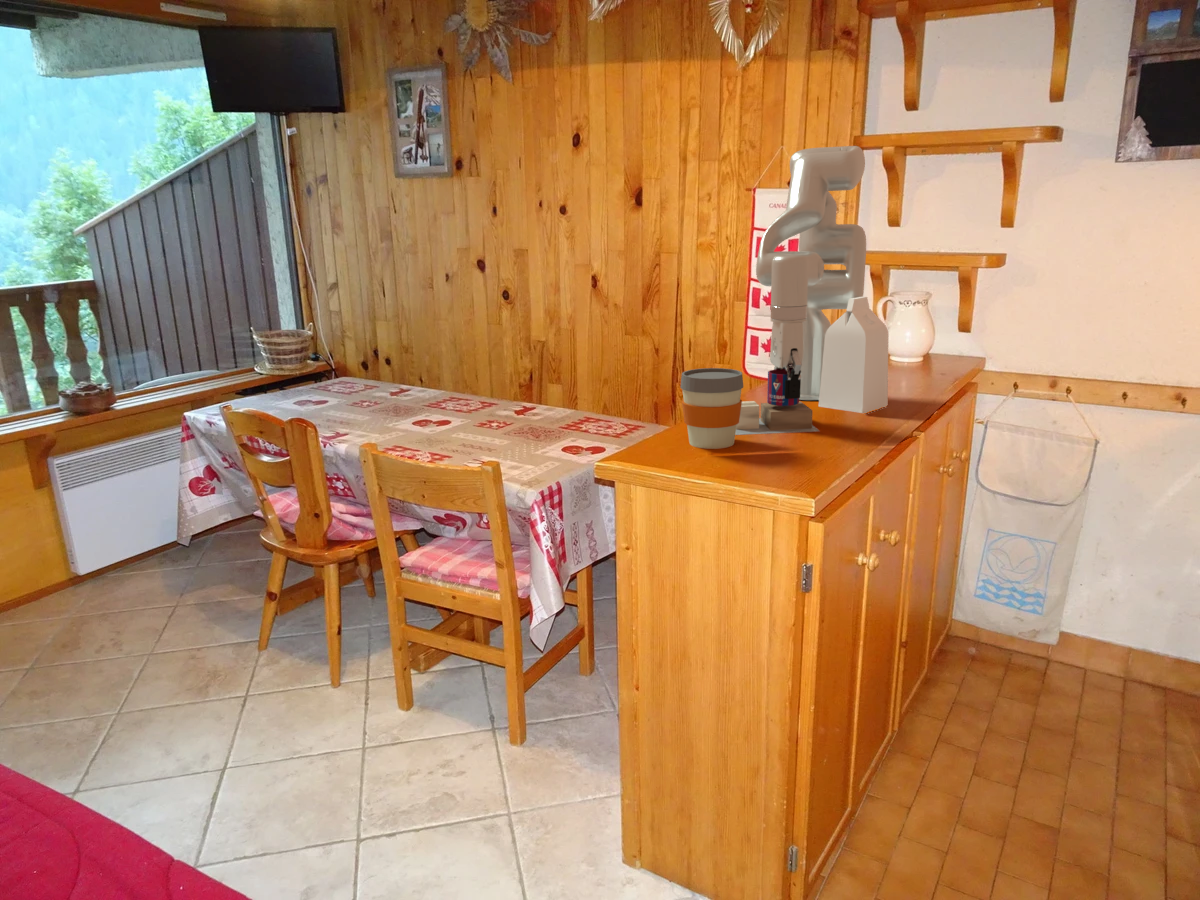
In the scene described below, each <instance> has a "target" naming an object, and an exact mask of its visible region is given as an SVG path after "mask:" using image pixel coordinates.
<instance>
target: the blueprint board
mask: <svg viewBox="0 0 1200 900" xmlns="http://www.w3.org/2000/svg"><path fill="white" fill-rule="evenodd" d="M813 432H815V433H816V432H820V430H819V429H818V428H817V427H816V426H815V425H813V424H812V428H811V429H788V430H770V429H769V428H768V427H767V426H766V425H765V424H764V423H763V422H761V417H759V428H758V429H736V433H735V436H739V435H740V436H746V435H747V436H748V435H763V434H765V435H766V434H767V435H768V434H789V433H791V434H792V433H813Z"/></svg>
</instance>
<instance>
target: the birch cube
mask: <svg viewBox="0 0 1200 900" xmlns="http://www.w3.org/2000/svg"><path fill="white" fill-rule="evenodd" d="M759 418H760V405H759V404H758V403H757V402H756V401H755V400H749V401H748V400H747V401H742V404H741V411H740V419H739V423H738V424H737V425H736V429H758V428H759Z"/></svg>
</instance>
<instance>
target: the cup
mask: <svg viewBox="0 0 1200 900" xmlns="http://www.w3.org/2000/svg"><path fill="white" fill-rule="evenodd" d="M790 373H791V370H790ZM785 380H787V377H786V370H785V369H776V370H774V369H771V370H768V371H767V402H766V403H769V404H771V405H777V406H791V405H796V404H798V403H799V402H800V400H799V398H796V399H786V398H785Z"/></svg>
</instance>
